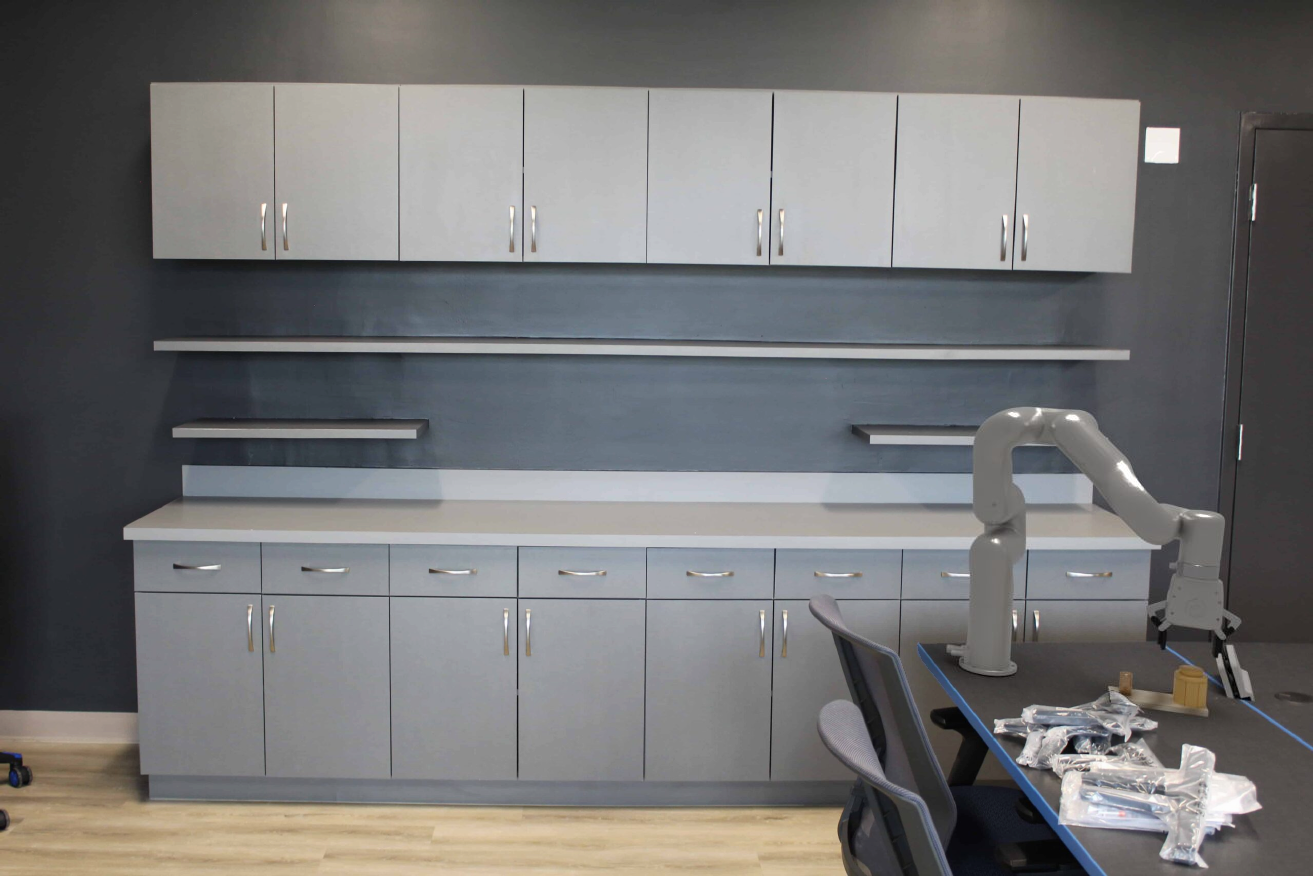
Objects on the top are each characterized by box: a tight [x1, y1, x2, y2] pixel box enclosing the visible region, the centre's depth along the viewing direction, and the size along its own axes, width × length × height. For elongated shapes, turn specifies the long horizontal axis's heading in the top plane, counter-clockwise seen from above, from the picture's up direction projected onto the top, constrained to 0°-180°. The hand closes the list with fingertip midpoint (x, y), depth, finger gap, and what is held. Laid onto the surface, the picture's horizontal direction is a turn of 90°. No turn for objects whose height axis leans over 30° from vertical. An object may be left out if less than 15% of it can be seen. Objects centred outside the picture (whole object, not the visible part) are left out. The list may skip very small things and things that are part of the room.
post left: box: [1118, 670, 1134, 696], centre depth 209 cm, size 2×2×4 cm
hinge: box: [1215, 644, 1255, 702], centre depth 217 cm, size 17×5×10 cm, turn 153°
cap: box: [1172, 664, 1209, 708], centre depth 205 cm, size 6×6×7 cm
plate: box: [1107, 685, 1209, 717], centre depth 207 cm, size 18×8×1 cm, turn 69°
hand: (1188, 652), depth 204 cm, fingers open, 9 cm apart
